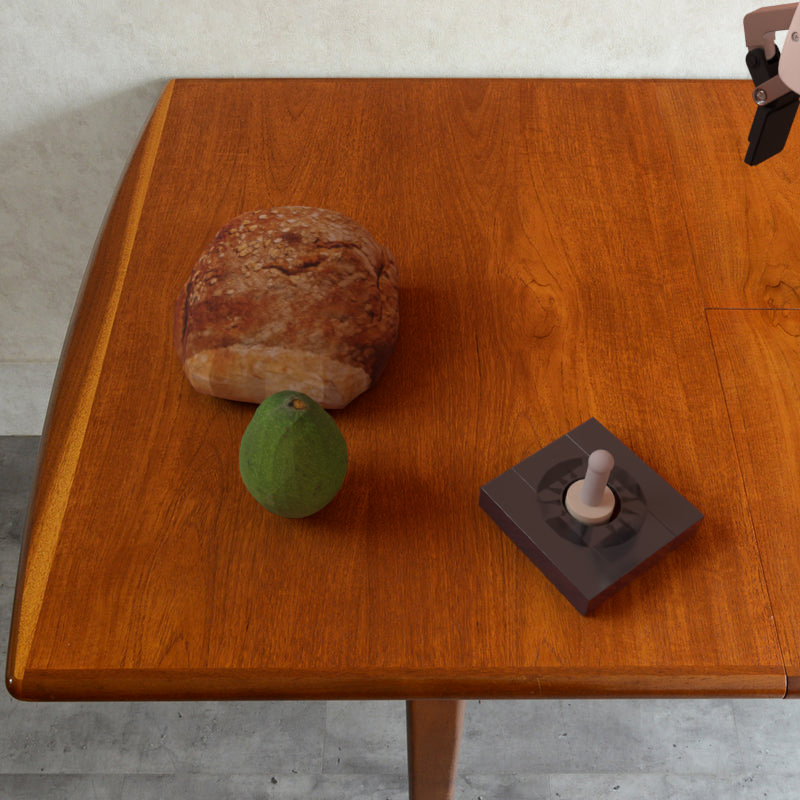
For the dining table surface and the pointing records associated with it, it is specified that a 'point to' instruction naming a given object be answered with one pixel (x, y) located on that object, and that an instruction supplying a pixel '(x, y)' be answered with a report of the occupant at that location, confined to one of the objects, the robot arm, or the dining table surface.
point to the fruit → (292, 455)
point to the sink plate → (583, 544)
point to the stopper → (592, 492)
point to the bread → (288, 308)
